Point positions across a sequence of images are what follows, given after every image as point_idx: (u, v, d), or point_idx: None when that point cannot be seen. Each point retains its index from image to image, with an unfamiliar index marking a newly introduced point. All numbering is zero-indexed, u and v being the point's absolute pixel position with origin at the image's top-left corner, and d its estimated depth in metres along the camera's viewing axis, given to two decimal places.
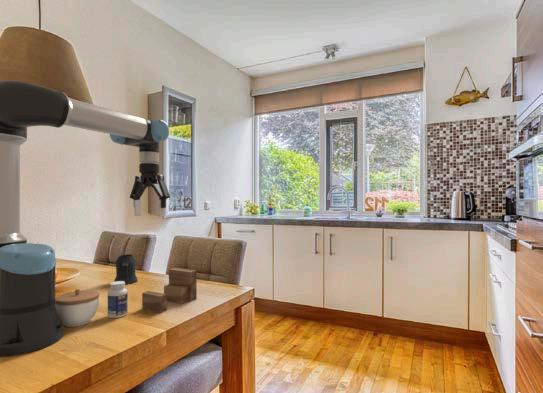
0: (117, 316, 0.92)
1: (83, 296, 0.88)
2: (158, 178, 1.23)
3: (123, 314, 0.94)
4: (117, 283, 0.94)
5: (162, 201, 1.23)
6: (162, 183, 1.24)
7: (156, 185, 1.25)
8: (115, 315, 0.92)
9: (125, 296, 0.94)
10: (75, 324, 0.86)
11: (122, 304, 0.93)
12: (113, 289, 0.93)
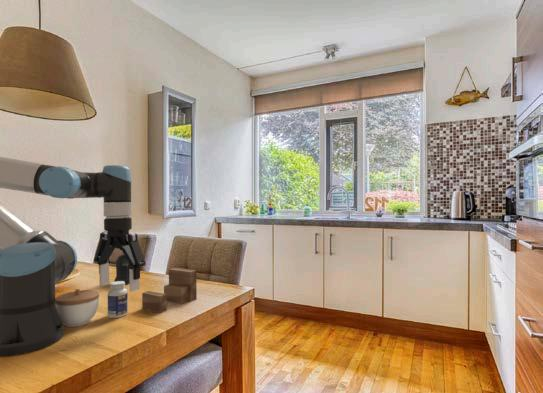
0: (117, 316, 0.92)
1: (83, 296, 0.88)
2: (129, 239, 0.91)
3: (123, 314, 0.94)
4: (117, 283, 0.94)
5: (135, 270, 0.91)
6: (134, 246, 0.91)
7: (127, 247, 0.93)
8: (115, 315, 0.92)
9: (125, 296, 0.94)
10: (75, 324, 0.86)
11: (122, 304, 0.93)
12: (113, 289, 0.93)
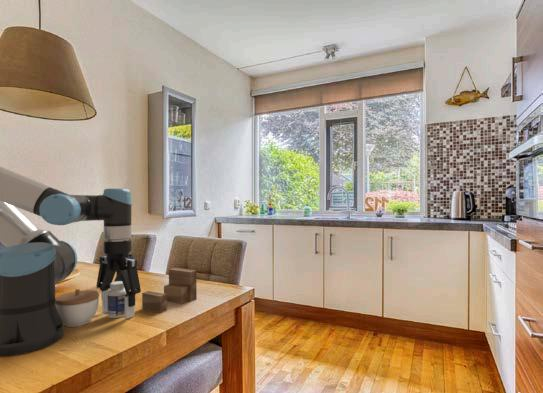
0: (117, 316, 0.92)
1: (83, 296, 0.88)
2: (128, 265, 0.91)
3: (123, 314, 0.94)
4: (117, 283, 0.94)
5: (130, 298, 0.92)
6: (132, 272, 0.91)
7: (125, 272, 0.93)
8: (115, 315, 0.92)
9: None
10: (75, 324, 0.86)
11: (122, 304, 0.93)
12: (113, 289, 0.93)
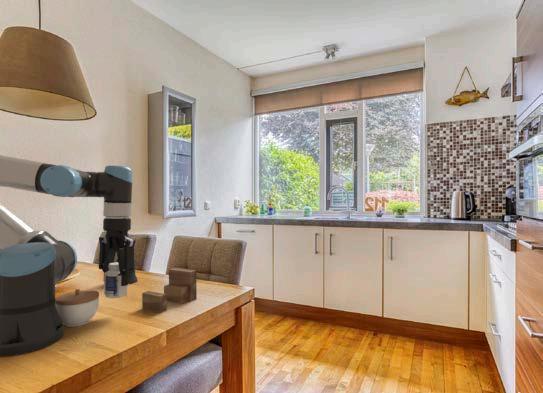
0: (115, 296, 0.92)
1: (83, 296, 0.88)
2: (126, 244, 0.91)
3: None
4: (115, 264, 0.94)
5: (123, 277, 0.92)
6: (129, 252, 0.92)
7: (122, 251, 0.93)
8: (113, 295, 0.92)
9: None
10: (75, 324, 0.86)
11: None
12: (111, 269, 0.93)
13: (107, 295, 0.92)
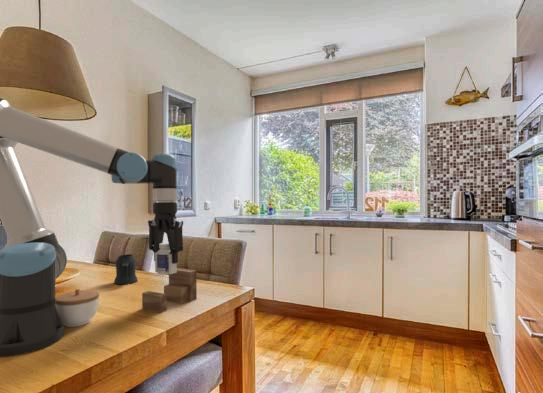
0: (166, 273, 1.01)
1: (83, 296, 0.88)
2: (175, 225, 1.00)
3: None
4: (165, 243, 1.03)
5: (173, 255, 1.01)
6: (178, 232, 1.01)
7: (171, 232, 1.02)
8: (165, 272, 1.01)
9: None
10: (75, 324, 0.86)
11: None
12: (162, 248, 1.02)
13: (160, 272, 1.01)
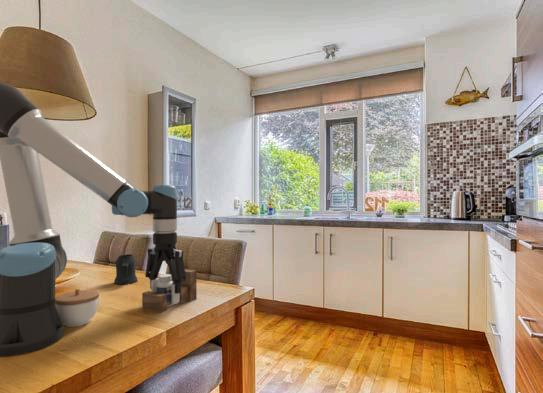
0: None
1: (83, 296, 0.88)
2: (176, 255, 1.00)
3: (171, 304, 1.02)
4: (165, 276, 1.03)
5: (176, 285, 1.01)
6: (180, 262, 1.00)
7: (172, 262, 1.02)
8: None
9: None
10: (75, 324, 0.86)
11: (170, 295, 1.02)
12: (162, 281, 1.02)
13: None
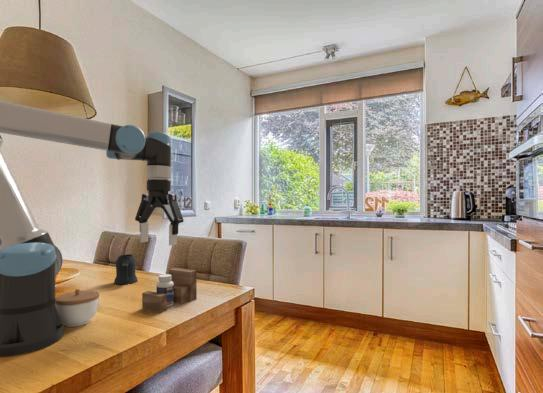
0: None
1: (83, 296, 0.88)
2: (169, 198, 1.01)
3: (171, 304, 1.02)
4: (165, 276, 1.03)
5: (174, 226, 1.01)
6: (174, 204, 1.01)
7: (167, 206, 1.03)
8: None
9: (172, 288, 1.03)
10: (75, 324, 0.86)
11: (170, 295, 1.02)
12: (162, 281, 1.02)
13: None
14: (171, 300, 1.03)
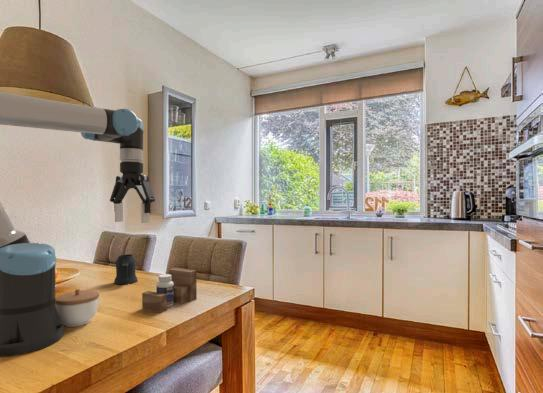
0: None
1: (83, 296, 0.88)
2: (141, 179, 1.07)
3: (171, 304, 1.02)
4: (165, 276, 1.03)
5: (146, 205, 1.07)
6: (146, 184, 1.08)
7: (139, 187, 1.09)
8: None
9: (172, 288, 1.03)
10: (75, 324, 0.86)
11: (170, 295, 1.02)
12: (162, 281, 1.02)
13: None
14: (171, 300, 1.03)
